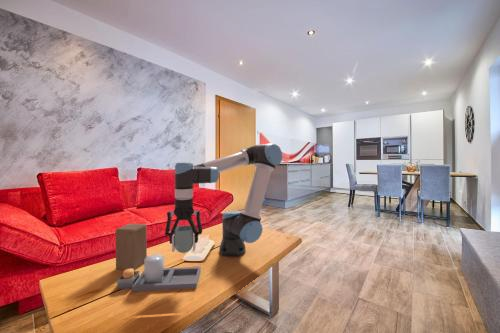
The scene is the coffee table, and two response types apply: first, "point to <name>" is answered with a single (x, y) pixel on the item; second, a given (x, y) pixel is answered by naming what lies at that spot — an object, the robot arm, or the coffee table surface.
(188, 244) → the cup
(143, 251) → the wooden block
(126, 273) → the button
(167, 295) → the coffee table surface
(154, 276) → the billet
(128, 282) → the button housing
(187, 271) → the grey divided tray
